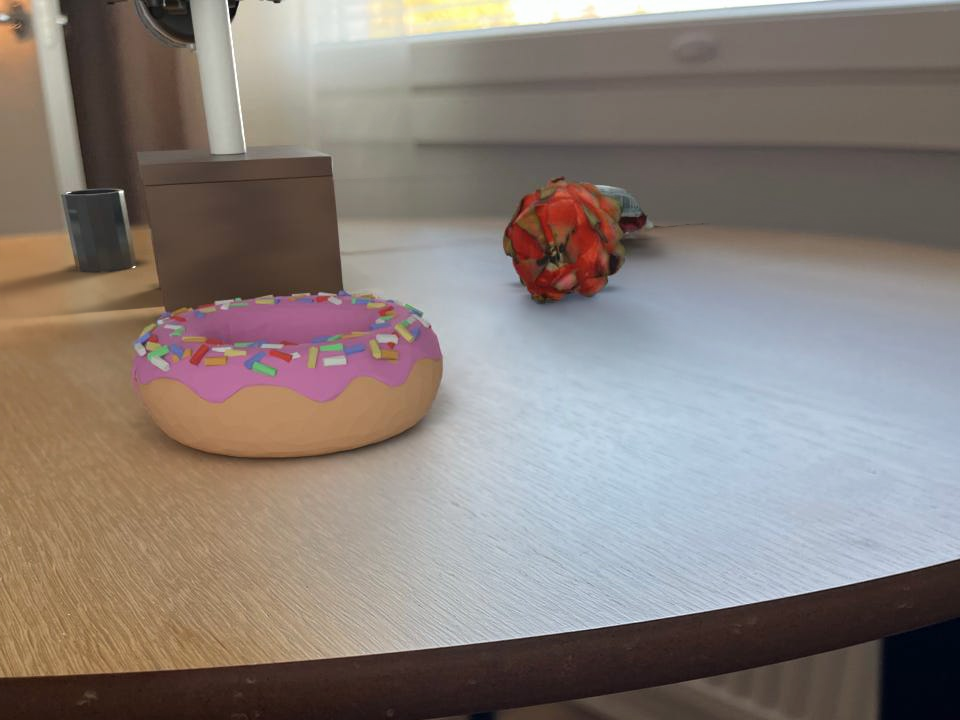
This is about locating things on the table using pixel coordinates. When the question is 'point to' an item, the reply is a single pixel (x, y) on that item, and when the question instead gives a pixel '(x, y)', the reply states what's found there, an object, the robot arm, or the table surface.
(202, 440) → the donut
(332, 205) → the desk cabinet
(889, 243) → the table surface
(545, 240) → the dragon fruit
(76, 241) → the pen cup
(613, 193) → the packaged food
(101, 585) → the table surface
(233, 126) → the marker
